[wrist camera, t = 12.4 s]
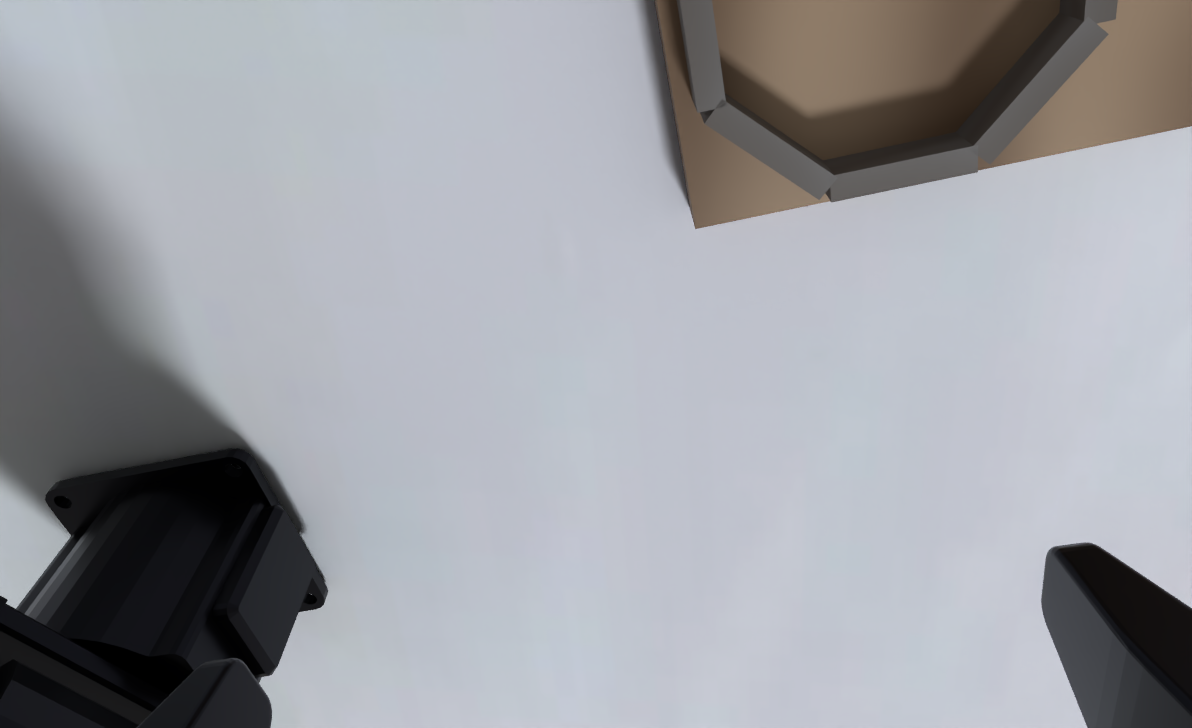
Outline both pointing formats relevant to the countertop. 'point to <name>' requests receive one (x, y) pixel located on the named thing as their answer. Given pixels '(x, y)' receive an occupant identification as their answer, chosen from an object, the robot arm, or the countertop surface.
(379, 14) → the countertop surface
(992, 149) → the board
